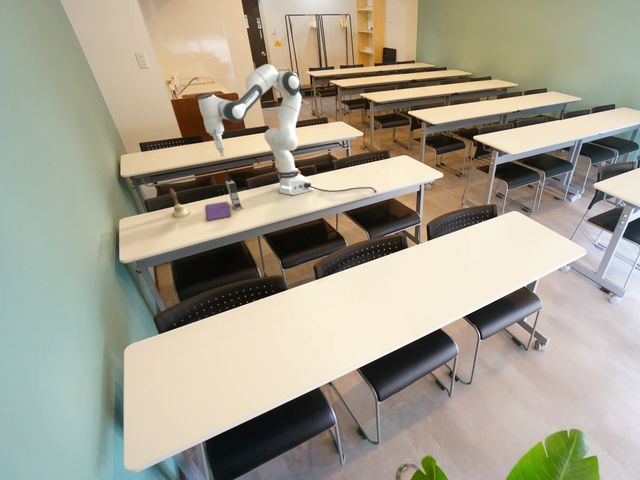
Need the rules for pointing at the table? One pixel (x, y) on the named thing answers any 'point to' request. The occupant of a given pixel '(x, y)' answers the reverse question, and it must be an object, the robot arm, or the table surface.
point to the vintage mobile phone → (233, 193)
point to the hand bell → (177, 206)
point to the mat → (217, 211)
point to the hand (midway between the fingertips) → (222, 153)
